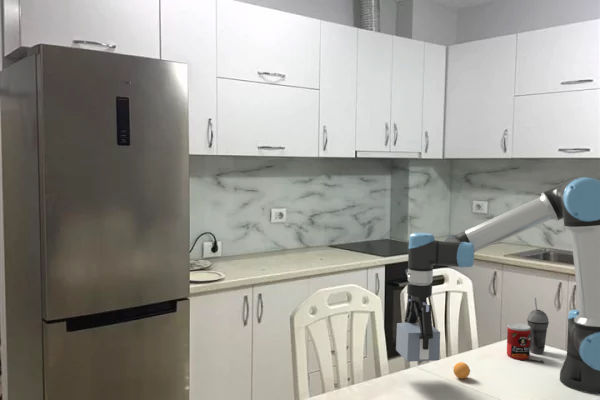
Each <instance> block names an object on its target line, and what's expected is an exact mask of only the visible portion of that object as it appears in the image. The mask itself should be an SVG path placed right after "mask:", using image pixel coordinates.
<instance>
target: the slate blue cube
mask: <svg viewBox="0 0 600 400" xmlns="http://www.w3.org/2000/svg"><path fill="white" fill-rule="evenodd" d="M432 330H433V338H432V339H429V359H422V360H420V359H419V350H420V339H419V337H421V331H420V325H419V322H416V323H405V322H398V323H396V337H395V339H396V340H395V341H396V342H395V345H396V346H395V351H396V352H397V353H398V354H399V355H400V356H401V357H402V358H403V359H404V360H405V361H406V362H430V361H431V362H432V361H440V349H441V332H440V331H439V329H437V328H435V327H434V326H433V325H432Z"/></svg>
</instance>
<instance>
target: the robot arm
mask: <svg viewBox="0 0 600 400" xmlns="http://www.w3.org/2000/svg"><path fill="white" fill-rule="evenodd" d="M562 219H563V226H564V227H565V229H567V230H568V231H569V232H570V236H571V237H570V239H571V246H572V256H573V267H574V274H575V275H574V276H575V284H576V285H575V286H576V292H577V303H578V304H577V305H578V308H577V309H571V310H569V312H568V316H567V340H566V341H567V343H566V357H565V359H564V362H563V364H562V367H561V369H560V372H559V381H560V383H562V384H563V385H564V386H566V387H569V388H570V389H573V390H577V391H580V392H584V393H590V394H600V180H599V179H596V178H594V177H589V176H586V177H585V176H583V177H582V176H574V177H569V178H568V179H566V180H563V181H561V182H560V183H559V184H557V185H555V186H553V187H552V188H550V189H548V190H546V191H543V192H541V194H540V197H538V198H536V199H534V200H533V199H532V201H529V202H526V203H524V204H522V205H519V206H518V207H515V208H513V209H511V210H508V211H506V212H504V213H502V214H500V215H498V216H495V217H492V218H491V219H488V220H486V221H484V222H482V223H479V224H478V225H474V226H473V227H470V228H468V229H465V230H464V231H462V232H459V233H457V234H452V235H450V236H447V237H446V239H444V240H443V241H442V240H437V239H436V240H435V236H434V234H433V233H429V232H413V233H411V234H410V235H409V238H408V239H409V240H408V250H407V251H408V252H407V254H408V255H407V256H408V257H407V272H406V276H407V281H408V282H407V283H406V285H407V286H406V287H407V288H406V291H407V292H406V294H407V302H406V309H405V316H404V323H417V319H418V323H419V325H420V331H421V337H419V339H420V350H419V359H420V360H422V359H429V339H432V338H433V330H432V326H433V320H432V319H433V318H432V304H428V299H427V298H431V297H432V295H433V285H432V283H433V279H434V278H433V276H434V275H433V274H434V266H445V267H455V268H458V267H459V268H461V269H462V268H472V267H473V266H474V262H475V253H476V252H478V251H481V250H483V249H485V248H487V247H490V246H492V245H494V244H496V243H499V242H502V241H505V240H507V239H509V238H511V237H513V236H514V237H515V235H518V234H520V233H522V232H525V231H528V230H530V229H533V228H536V227H537V226H539V225H542V224H544V223H546V222H549V221H552V220H553V221H555V222H556V221H560V220H562Z"/></svg>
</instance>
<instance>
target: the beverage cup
mask: <svg viewBox="0 0 600 400" xmlns="http://www.w3.org/2000/svg"><path fill="white" fill-rule="evenodd" d="M537 305H538V304H537V298H536V297H534V307H535V308H534V309H533V310H531V311H530V312H529V314H528V315H527V319H526V321H527V325H528V326H530V327H531V335H530V354H534V355H544V352H545V347H546V339H547V334H548V333H547V331H548V327H549V322H550V321H549V317H548V314H547V313H546V312H545V311H544V310H541V309H538V306H537Z"/></svg>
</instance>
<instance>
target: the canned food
mask: <svg viewBox="0 0 600 400" xmlns="http://www.w3.org/2000/svg"><path fill="white" fill-rule="evenodd" d="M506 329H507V330H506V335H507V336H506V355H507V356H508V358H510V359H513V360H520V361H525V359H526V360H528V359H529V358H530V356H531V355H530V354H531V352H530V335H531V327H530V326H528V324H526V323H521V322H510V323H508V324H507V328H506Z"/></svg>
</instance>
